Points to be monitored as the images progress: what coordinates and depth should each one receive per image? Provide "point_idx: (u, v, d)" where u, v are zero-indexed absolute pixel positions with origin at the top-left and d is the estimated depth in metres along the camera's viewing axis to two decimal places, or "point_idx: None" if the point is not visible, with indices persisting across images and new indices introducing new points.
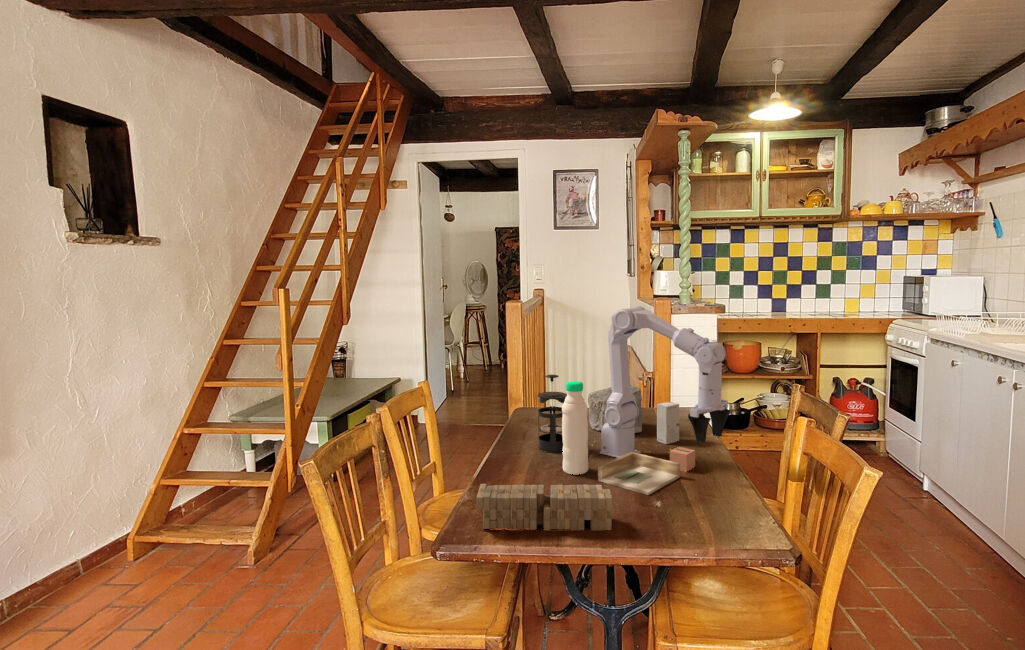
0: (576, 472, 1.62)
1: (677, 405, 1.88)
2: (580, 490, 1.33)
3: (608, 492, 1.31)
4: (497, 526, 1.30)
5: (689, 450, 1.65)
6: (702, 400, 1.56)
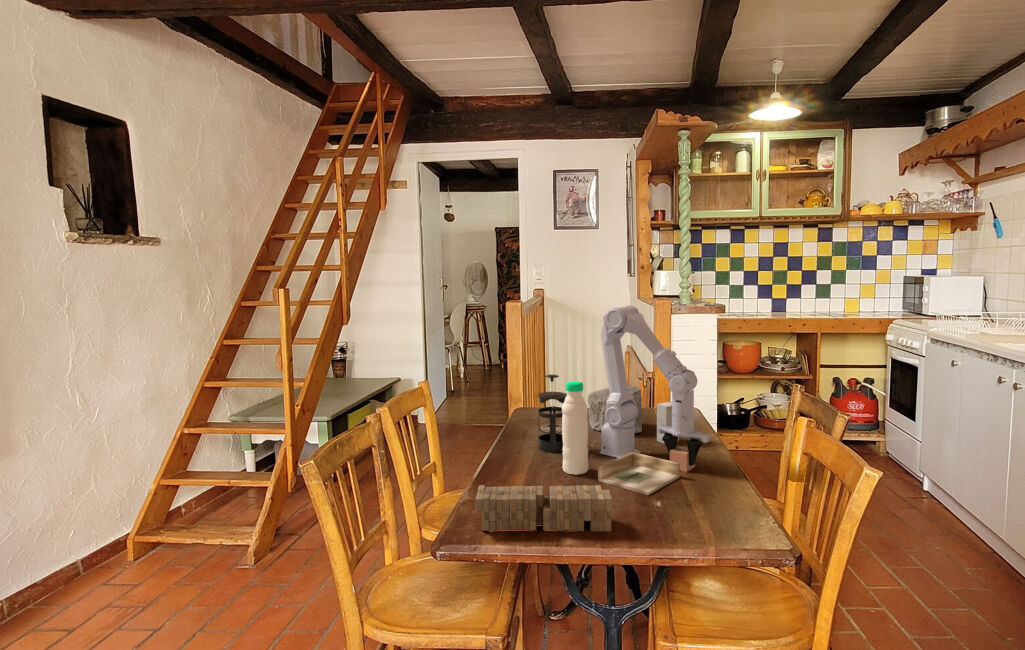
0: (576, 472, 1.62)
1: None
2: (579, 491, 1.32)
3: (607, 493, 1.31)
4: (496, 528, 1.30)
5: None
6: None
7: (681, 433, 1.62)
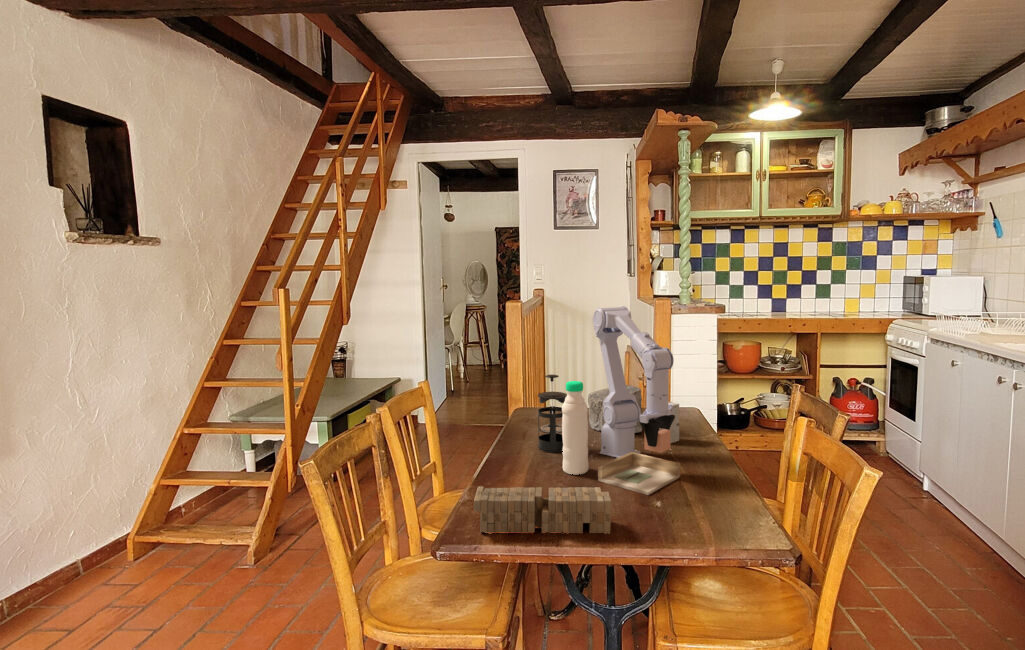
0: (576, 472, 1.62)
1: (677, 405, 1.88)
2: (579, 493, 1.31)
3: (607, 495, 1.30)
4: (495, 529, 1.29)
5: None
6: (650, 406, 1.58)
7: (669, 410, 1.59)
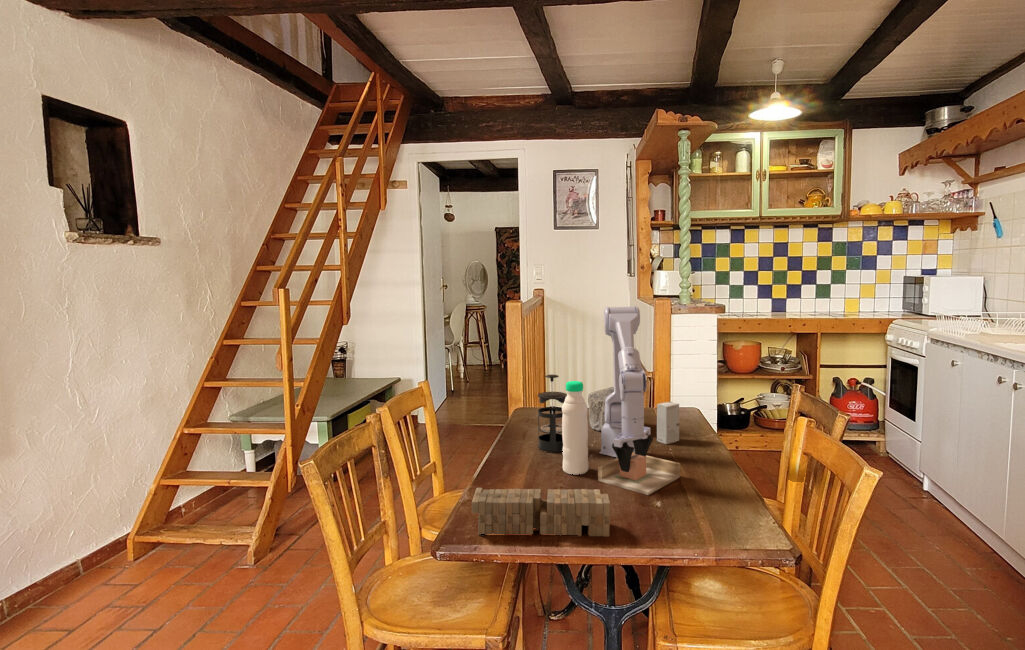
0: (576, 472, 1.62)
1: (677, 405, 1.88)
2: (578, 495, 1.30)
3: (606, 497, 1.29)
4: (493, 531, 1.28)
5: (632, 454, 1.59)
6: (625, 429, 1.55)
7: (644, 434, 1.56)
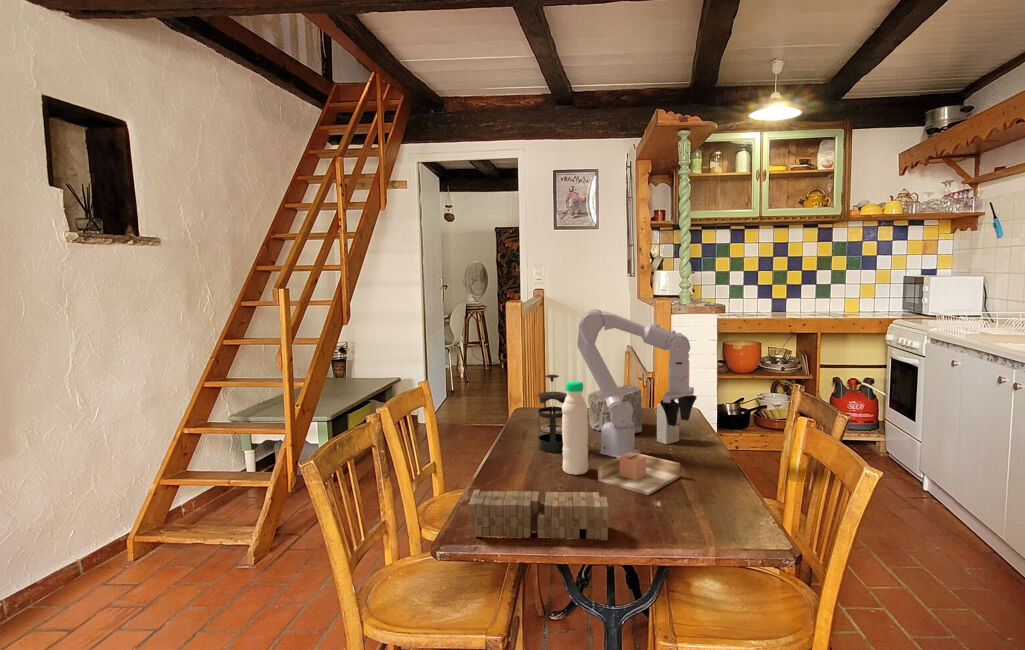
0: (576, 472, 1.62)
1: None
2: (576, 498, 1.28)
3: (605, 500, 1.27)
4: (490, 534, 1.27)
5: (632, 454, 1.59)
6: (672, 387, 1.70)
7: (689, 392, 1.71)
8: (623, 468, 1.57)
